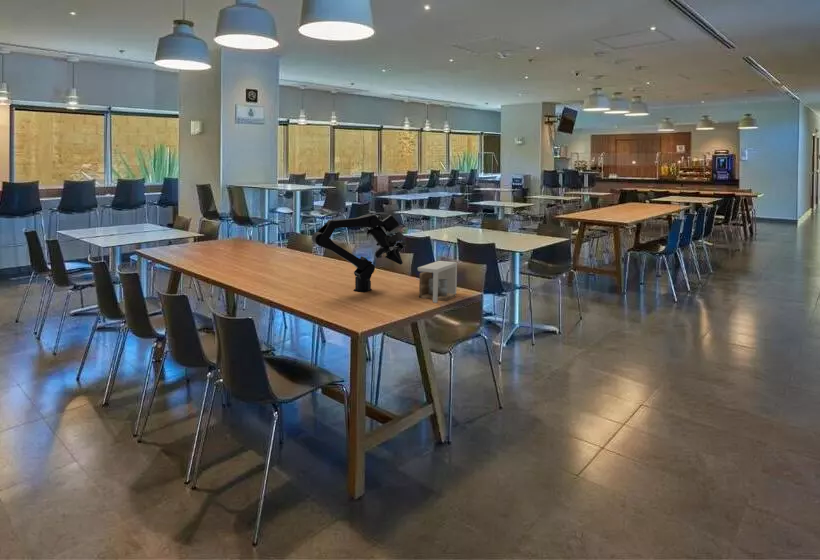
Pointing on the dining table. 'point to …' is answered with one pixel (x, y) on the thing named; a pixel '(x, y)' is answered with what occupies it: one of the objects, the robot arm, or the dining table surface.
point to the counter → (442, 276)
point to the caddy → (427, 287)
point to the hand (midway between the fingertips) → (401, 264)
